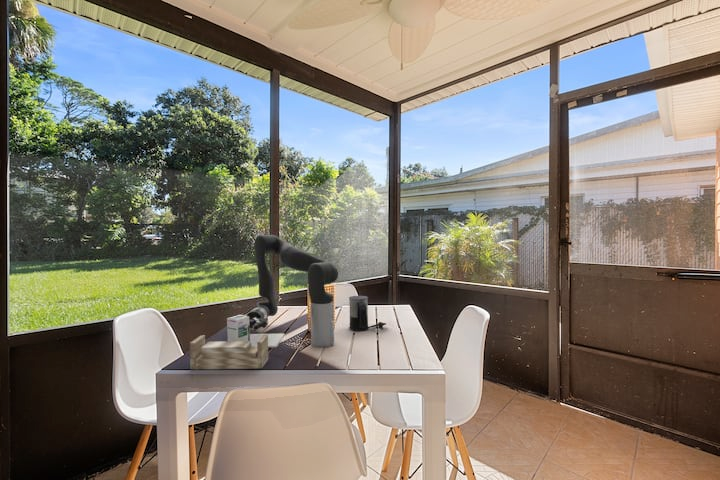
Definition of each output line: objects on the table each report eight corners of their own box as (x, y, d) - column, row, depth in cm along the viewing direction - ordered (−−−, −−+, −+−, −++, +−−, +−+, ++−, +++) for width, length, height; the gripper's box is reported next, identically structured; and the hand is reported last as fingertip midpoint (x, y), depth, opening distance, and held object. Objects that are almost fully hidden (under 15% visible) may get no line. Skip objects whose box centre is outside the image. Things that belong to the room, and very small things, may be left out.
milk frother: (345, 327, 159) (345, 296, 159) (372, 322, 167) (372, 293, 167) (361, 335, 147) (361, 302, 147) (390, 329, 156) (389, 297, 155)
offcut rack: (268, 359, 121) (267, 334, 120) (262, 368, 113) (261, 342, 112) (201, 360, 120) (200, 335, 120) (190, 369, 112) (189, 342, 112)
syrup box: (237, 359, 121) (237, 319, 120) (227, 356, 124) (226, 317, 124) (250, 354, 126) (250, 315, 125) (240, 351, 129) (239, 313, 128)
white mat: (284, 334, 149) (284, 333, 149) (276, 347, 133) (276, 346, 133) (248, 335, 148) (248, 333, 148) (235, 348, 132) (235, 346, 132)
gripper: (239, 309, 146) (225, 319, 130) (272, 308, 146) (261, 318, 130) (240, 326, 147) (225, 338, 130) (272, 325, 147) (262, 337, 131)
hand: (243, 328), depth 130 cm, fingers open, 8 cm apart
